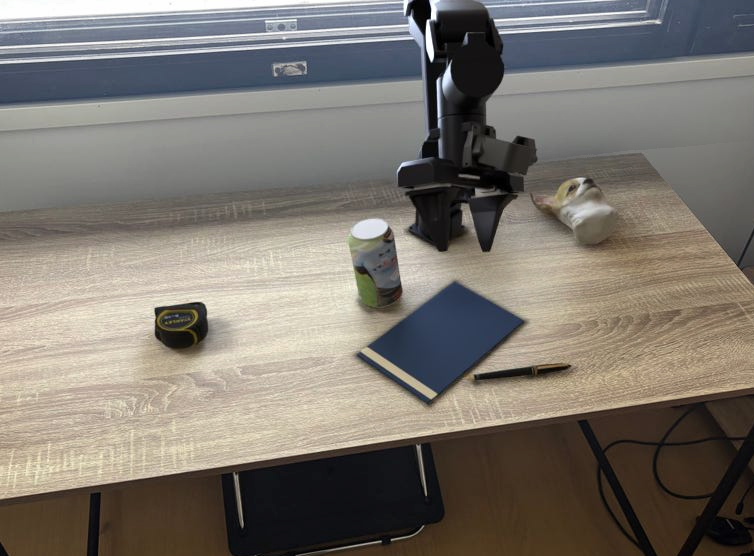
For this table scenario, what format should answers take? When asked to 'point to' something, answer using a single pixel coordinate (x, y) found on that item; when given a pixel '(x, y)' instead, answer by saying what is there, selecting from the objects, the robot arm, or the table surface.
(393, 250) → the beverage can
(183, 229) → the table surface
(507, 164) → the robot arm
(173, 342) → the tape measure
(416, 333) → the blue hardcover notebook
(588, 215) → the ceramic sculpture
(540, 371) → the fountain pen
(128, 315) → the table surface
